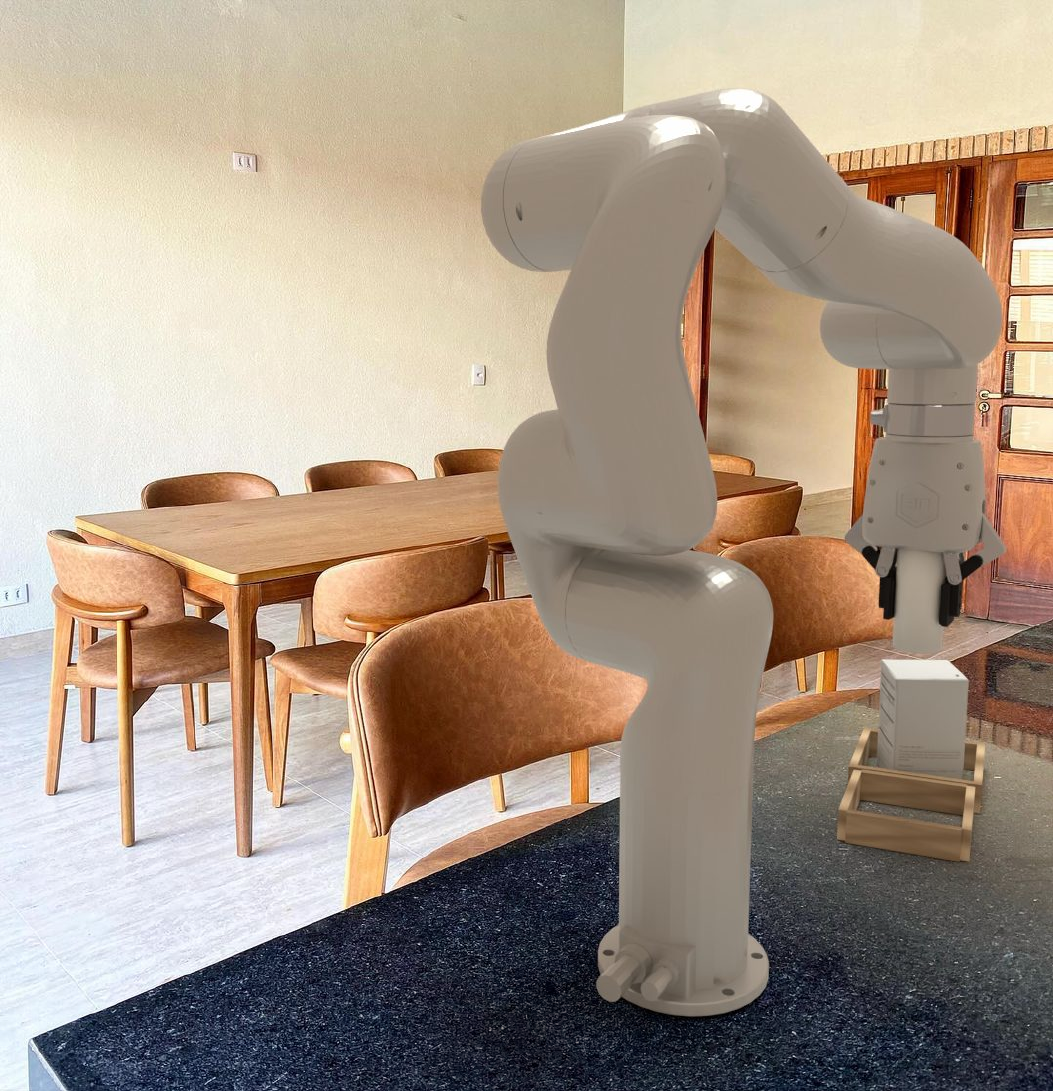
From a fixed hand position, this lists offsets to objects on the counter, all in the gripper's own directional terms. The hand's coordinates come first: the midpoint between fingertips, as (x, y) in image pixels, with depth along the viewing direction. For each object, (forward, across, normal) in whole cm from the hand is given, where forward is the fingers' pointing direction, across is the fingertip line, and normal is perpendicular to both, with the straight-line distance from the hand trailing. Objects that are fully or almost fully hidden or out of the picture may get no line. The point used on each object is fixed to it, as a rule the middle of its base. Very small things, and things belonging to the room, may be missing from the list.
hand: (918, 618), depth 101 cm
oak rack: (+21, -1, +6) cm, 22 cm away
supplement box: (+21, -2, +12) cm, 24 cm away
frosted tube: (+3, 0, 0) cm, 3 cm away
